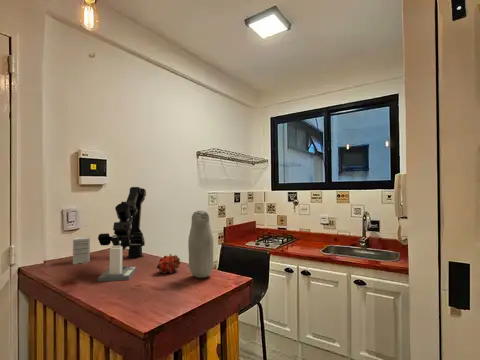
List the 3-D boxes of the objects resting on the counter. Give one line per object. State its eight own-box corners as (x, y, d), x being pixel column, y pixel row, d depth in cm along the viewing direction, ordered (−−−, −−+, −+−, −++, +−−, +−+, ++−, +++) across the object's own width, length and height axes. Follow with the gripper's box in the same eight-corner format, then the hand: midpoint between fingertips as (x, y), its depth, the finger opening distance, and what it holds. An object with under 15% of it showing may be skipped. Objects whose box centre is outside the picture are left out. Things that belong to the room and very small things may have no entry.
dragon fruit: (182, 272, 126) (159, 283, 118) (173, 260, 131) (149, 268, 122) (186, 260, 123) (163, 270, 114) (176, 247, 127) (153, 255, 118)
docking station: (108, 271, 124) (108, 266, 124) (136, 270, 126) (136, 265, 126) (97, 281, 110) (97, 275, 111) (128, 279, 112) (128, 274, 112)
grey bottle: (217, 275, 117) (217, 210, 118) (202, 282, 108) (202, 211, 109) (199, 272, 122) (199, 209, 123) (183, 278, 113) (183, 211, 114)
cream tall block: (112, 272, 117) (112, 245, 117) (122, 272, 117) (122, 244, 118) (109, 275, 113) (109, 246, 113) (119, 275, 113) (119, 246, 114)
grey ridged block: (74, 261, 144) (74, 237, 144) (90, 259, 147) (90, 236, 148) (72, 264, 137) (72, 239, 138) (88, 262, 140) (89, 238, 141)
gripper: (99, 215, 122) (89, 245, 111) (142, 214, 125) (137, 243, 114) (105, 230, 130) (96, 259, 118) (145, 229, 132) (141, 257, 121)
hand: (117, 254), depth 118 cm, fingers closed, pressing on cream tall block
